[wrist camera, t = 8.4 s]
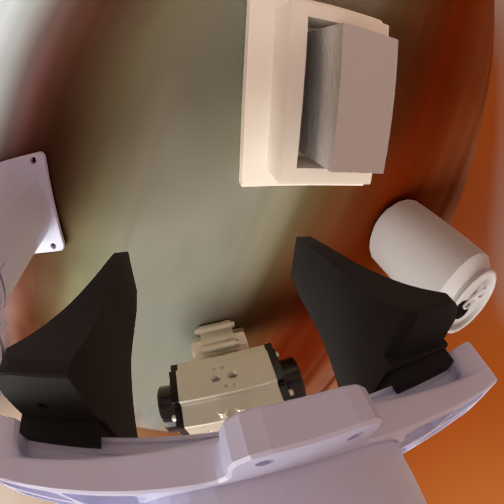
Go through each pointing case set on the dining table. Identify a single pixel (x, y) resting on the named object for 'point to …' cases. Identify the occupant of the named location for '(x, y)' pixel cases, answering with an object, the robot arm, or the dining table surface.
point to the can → (432, 258)
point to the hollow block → (284, 91)
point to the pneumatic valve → (225, 380)
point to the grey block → (348, 98)
